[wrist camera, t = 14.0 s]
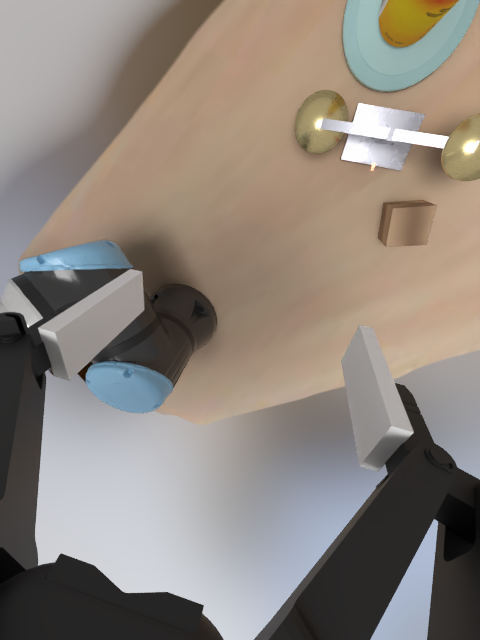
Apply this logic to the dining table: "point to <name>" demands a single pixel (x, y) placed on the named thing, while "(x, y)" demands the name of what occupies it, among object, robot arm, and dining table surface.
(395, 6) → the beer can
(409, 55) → the dish
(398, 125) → the balance
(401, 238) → the walnut block
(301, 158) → the dining table surface
